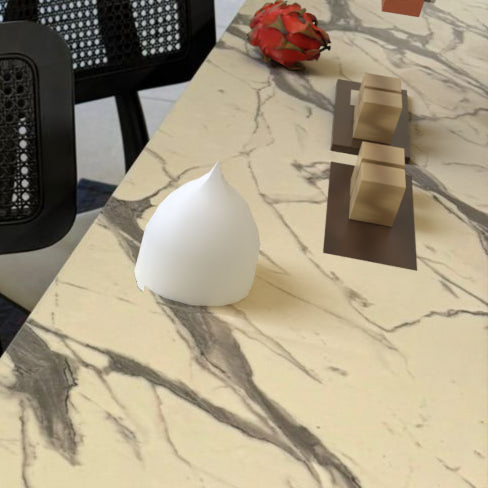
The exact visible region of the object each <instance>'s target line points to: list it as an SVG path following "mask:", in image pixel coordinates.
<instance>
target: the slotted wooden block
mask: <svg viewBox="0 0 488 488" xmlns="http://www.w3.org/2000/svg"><path fill="white" fill-rule="evenodd" d="M334 93H335V94H334V104H333V105H334V106H333V114H332V115H333V116H332V117H333V118H332V128H331V137H330V138H331V140H330V151H332V152H338V153H345V154H350V155H354V156H358V154H359V151H360V148H361V145H362V142H369V143H374V144H380V145H386V146H392V147H397V148H403V149H404V156H405V165H406V164H407V165H409V164H410V161H411V158H412V157H411V156H412V155H411V140H410V121H409V105H408V90H407V89H402V78H399V77H394V76H388V75H381V74H376V73H370V72H364V73H363V77H362V80H361V82H359V81H353V80H349V79H342V78H337V80H336V83H335V92H334Z"/></svg>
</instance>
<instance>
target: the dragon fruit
mask: <svg viewBox="0 0 488 488" xmlns="http://www.w3.org/2000/svg"><path fill="white" fill-rule="evenodd" d="M318 26H319V20H318V18H317V16H316V15H315V14H313V13H311V12H307V8H306V7H303V8H302V6H301V4H300V3H299V2H293V3H292V4H288V0H274V2H265V4H263V6H262V7H260V8H259V9H257V10H256V11H255V13H254V14H253V17H251V18H250V19H249V23H248V27H249V29H250V31H249V32H247V33H246V36H247V38H246V41H247V42H248V44H249V45H250V46H253V47H258V48H259V51H260V52H261V55H262V58H263V63H265V64H267V63H269V62H271V60H273V61H274V62H276V63H277V64H280V65H282V66H283V67H286V69H288V70H291V71H298V70H299V71H300V70H306V68H305V66H303V65H296V63H297V62H305V61H307V62H311V61H315V62H318V61H319V59H320V57H321V54H322V52H324V51H326V50H327V51H329V52H330V51H331V49H332V46H331V44H332V41H331V38H330V36H329V33H327V32H326V31H325V30H324V29H323V28H321V27H318ZM321 47H322V48H321Z"/></svg>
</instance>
